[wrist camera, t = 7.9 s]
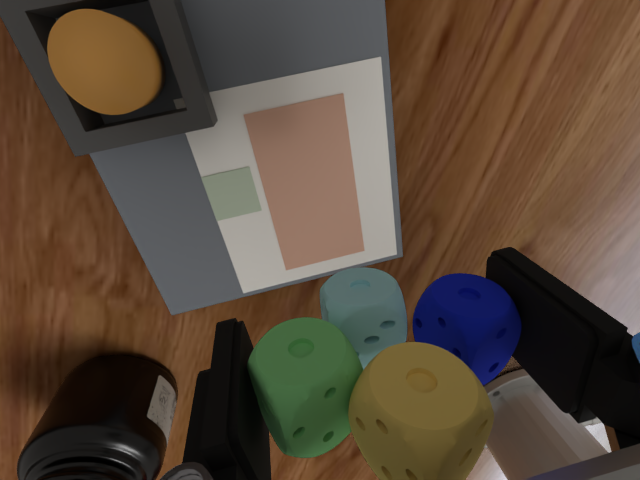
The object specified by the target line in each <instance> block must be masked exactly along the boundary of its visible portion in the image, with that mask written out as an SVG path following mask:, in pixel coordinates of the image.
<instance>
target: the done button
mask: <svg viewBox="0 0 640 480" xmlns="http://www.w3.org/2000/svg"><path fill="white" fill-rule="evenodd" d="M47 52H48V59H49V63H50V66H51V69H52V71H53V73H54V76H55V77H56V79H57V81H58V82H59V84H60V85H61V86H62V88H63V89H64V90H65V91H66V92H67V93H68V94H69V95H70V96H71V97H72V98H73V99H74V100H75V101H77V102H78V103H80V104H81V105H83V106H84V107H86V108H88V109H90V110H93V111H95V112H98V113H102V114H108V115H120V114H125V113H129V112H132V111H134V110H137V109H139V108H142V107H145V106H147V105H149V104H150V103H152V102H153V101H154V100H155V99H156V98H157V97H158V96H159V95H160V93H161V91H162V89H163V86H164V83H165V65H164V61H163V57H162V55H161V52H160V50H159V48H158V47H157V45H156V44H155V42H154V41H153V39H152V38H151V37H150V36H149V35H148V34H147V33H146V32H145V31H144V30H143V29H141V28H140V27H139V26H137V25H136V24H134V23H132V22H130V21H128V20H126V19H123V18H120V17H117V16H115V15H112V14H109V13H106V12H103V11H100V10H95V9H78V10H74V11H71V12H69V13H66V14H65V15H63V16H62V17H60V18H59V19H58V20H57V21H56V23H55V24H54V26H53V27H52V29H51V31H50V34H49V38H48V44H47Z"/></svg>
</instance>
